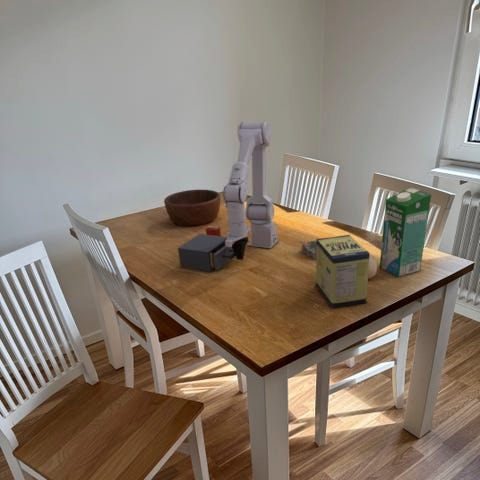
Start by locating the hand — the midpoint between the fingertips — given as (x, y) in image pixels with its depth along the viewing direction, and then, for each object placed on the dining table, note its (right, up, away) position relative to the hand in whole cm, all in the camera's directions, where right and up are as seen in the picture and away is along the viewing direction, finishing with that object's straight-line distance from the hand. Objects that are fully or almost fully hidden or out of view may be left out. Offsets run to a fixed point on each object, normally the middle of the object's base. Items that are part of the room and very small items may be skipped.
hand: (239, 258), depth 157 cm
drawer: (-8, 0, +5) cm, 9 cm away
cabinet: (-12, 0, +8) cm, 15 cm away
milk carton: (+52, -5, -9) cm, 53 cm away
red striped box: (-10, +8, +21) cm, 24 cm away
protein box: (+30, -13, -20) cm, 39 cm away
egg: (+40, -8, -13) cm, 43 cm away
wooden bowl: (-21, +25, +50) cm, 60 cm away
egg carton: (+27, +3, +7) cm, 28 cm away
